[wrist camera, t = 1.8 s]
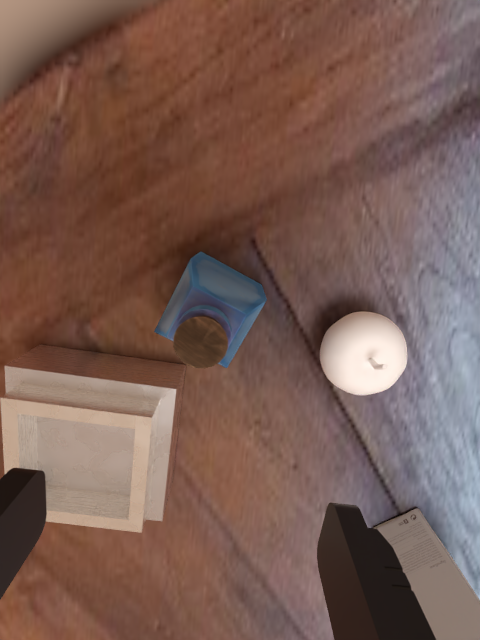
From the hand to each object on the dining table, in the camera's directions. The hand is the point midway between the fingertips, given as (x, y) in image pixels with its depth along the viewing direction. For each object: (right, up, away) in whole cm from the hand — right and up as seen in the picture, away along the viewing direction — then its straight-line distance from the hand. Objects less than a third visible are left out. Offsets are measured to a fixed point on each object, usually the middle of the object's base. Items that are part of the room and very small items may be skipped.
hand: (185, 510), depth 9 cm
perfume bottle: (-1, +7, +21) cm, 23 cm away
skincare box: (+21, -20, +29) cm, 41 cm away
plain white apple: (+12, +4, +22) cm, 26 cm away
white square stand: (-12, -5, +25) cm, 28 cm away
